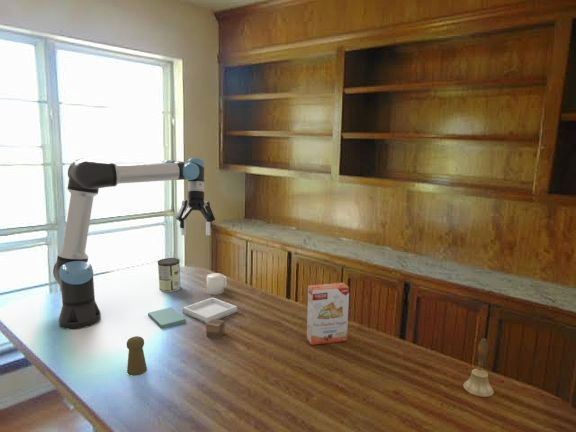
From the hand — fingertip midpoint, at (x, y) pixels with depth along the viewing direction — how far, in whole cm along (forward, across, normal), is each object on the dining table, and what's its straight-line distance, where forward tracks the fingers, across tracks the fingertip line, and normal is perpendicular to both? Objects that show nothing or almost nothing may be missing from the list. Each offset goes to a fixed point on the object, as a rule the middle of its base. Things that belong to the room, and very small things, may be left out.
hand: (196, 235), depth 205 cm
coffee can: (+26, -5, +15) cm, 31 cm away
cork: (+44, -50, -44) cm, 80 cm away
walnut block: (+38, -18, -41) cm, 59 cm away
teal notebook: (+35, -24, -16) cm, 45 cm away
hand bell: (+48, +17, -124) cm, 134 cm away
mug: (+27, +8, -4) cm, 29 cm away
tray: (+33, -8, -22) cm, 41 cm away
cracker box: (+40, +9, -73) cm, 83 cm away
